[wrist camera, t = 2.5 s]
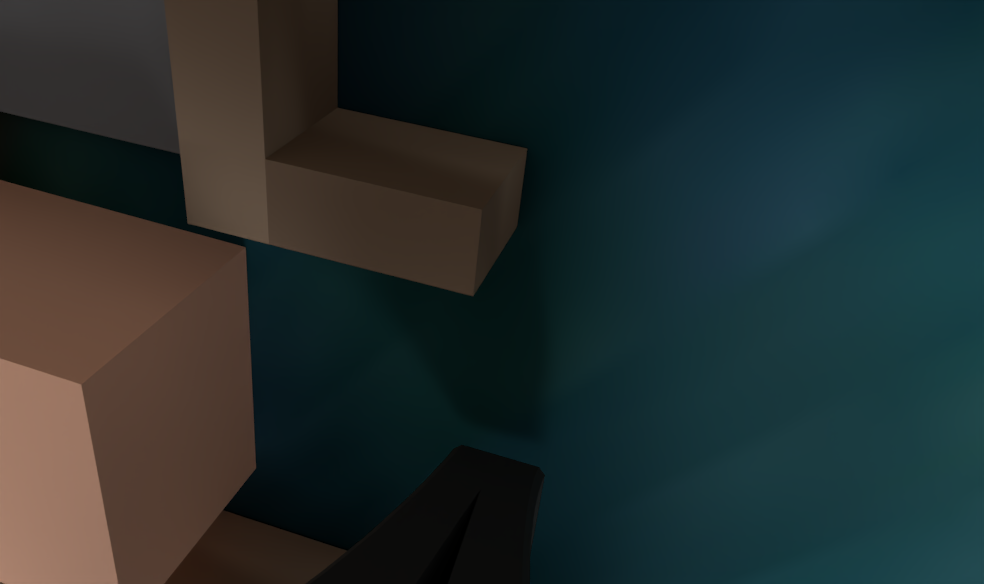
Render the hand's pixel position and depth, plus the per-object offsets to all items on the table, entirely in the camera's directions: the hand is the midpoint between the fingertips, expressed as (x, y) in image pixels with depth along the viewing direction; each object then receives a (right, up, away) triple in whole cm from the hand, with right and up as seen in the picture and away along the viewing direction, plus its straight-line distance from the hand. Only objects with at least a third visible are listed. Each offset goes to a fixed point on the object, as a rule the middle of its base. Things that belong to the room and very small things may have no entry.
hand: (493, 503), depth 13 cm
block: (-7, +3, +3) cm, 8 cm away
